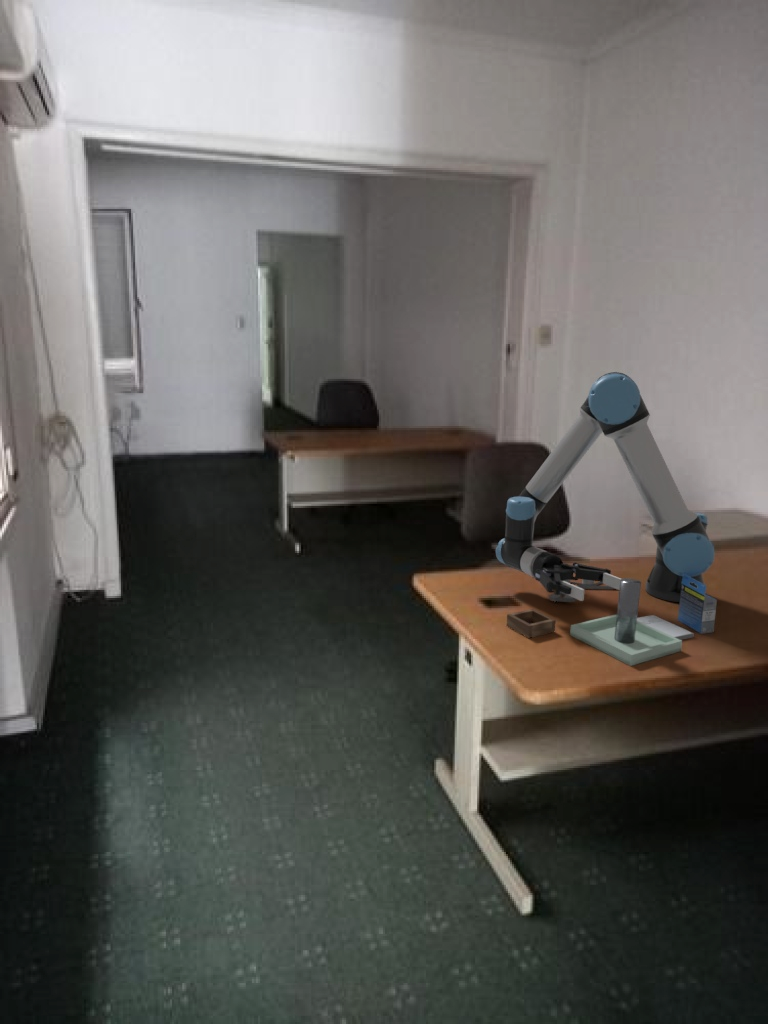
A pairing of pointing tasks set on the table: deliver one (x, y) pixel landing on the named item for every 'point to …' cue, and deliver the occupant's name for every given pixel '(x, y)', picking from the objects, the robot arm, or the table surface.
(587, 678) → the table surface
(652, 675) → the table surface
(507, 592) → the table surface
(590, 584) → the pulley system
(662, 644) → the tray
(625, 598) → the pin
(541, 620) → the pin socket
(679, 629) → the external hard drive
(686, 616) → the label tape box
